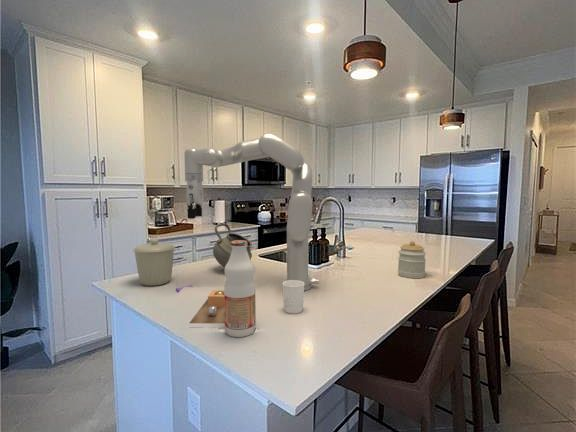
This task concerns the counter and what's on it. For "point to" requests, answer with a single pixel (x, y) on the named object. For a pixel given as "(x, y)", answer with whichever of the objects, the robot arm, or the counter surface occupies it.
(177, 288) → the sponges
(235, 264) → the fruit juice
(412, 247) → the jar
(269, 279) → the counter surface
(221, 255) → the pot
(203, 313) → the walnut board
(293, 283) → the white cup
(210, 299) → the collar
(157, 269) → the canister
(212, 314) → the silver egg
